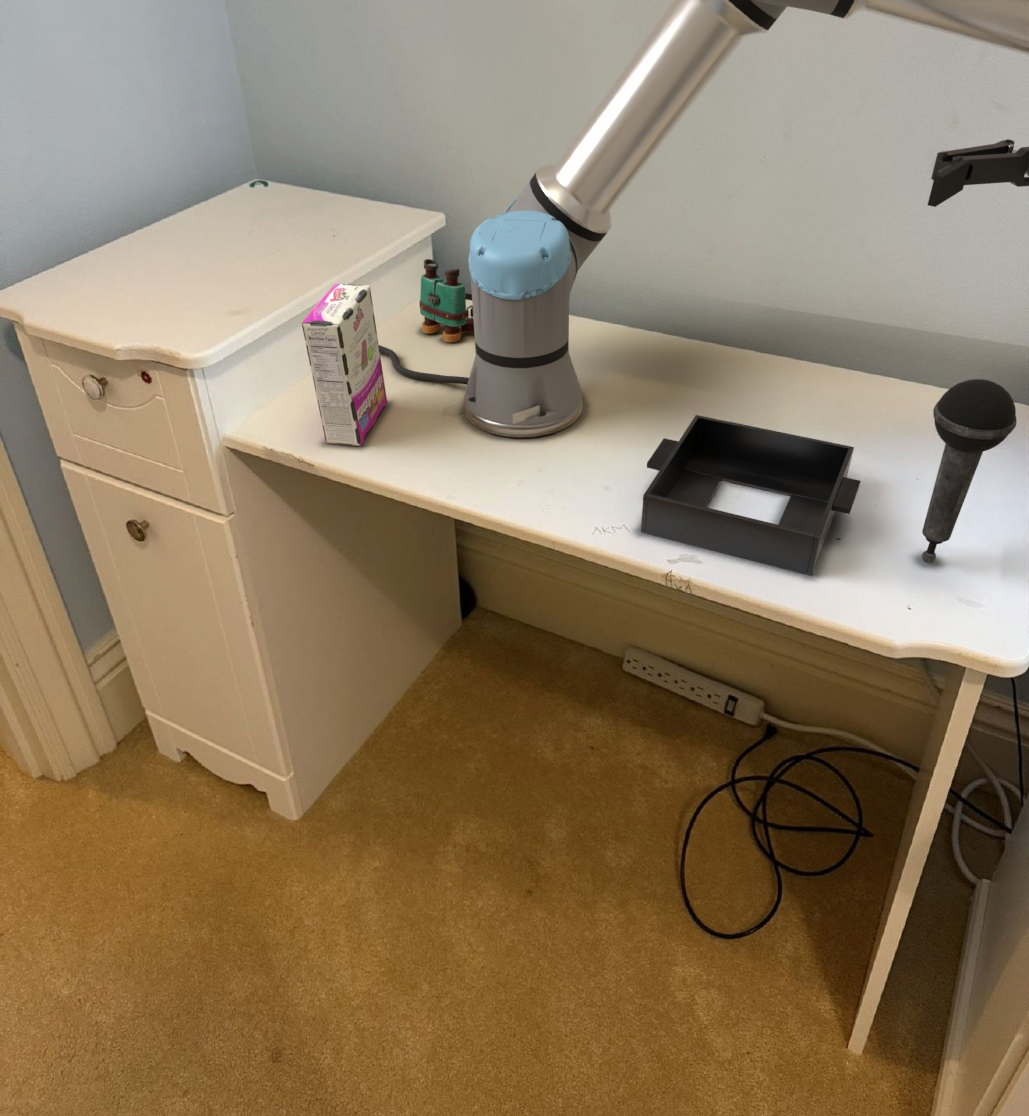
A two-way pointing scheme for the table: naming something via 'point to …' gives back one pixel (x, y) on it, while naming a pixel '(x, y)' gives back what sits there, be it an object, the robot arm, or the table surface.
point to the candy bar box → (345, 363)
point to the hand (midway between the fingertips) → (1010, 206)
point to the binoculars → (444, 303)
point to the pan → (756, 462)
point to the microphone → (964, 449)
